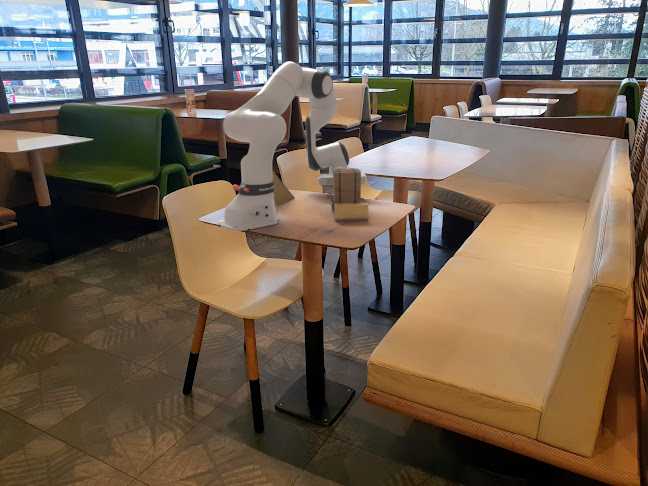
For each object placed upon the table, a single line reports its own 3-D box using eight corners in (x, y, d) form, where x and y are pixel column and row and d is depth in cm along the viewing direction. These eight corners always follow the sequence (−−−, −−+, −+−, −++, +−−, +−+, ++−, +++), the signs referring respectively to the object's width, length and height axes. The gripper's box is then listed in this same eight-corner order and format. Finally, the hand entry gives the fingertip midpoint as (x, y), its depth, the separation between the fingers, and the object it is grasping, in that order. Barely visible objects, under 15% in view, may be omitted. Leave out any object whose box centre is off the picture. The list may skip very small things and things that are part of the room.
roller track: (330, 205, 199) (330, 191, 197) (359, 205, 200) (360, 190, 198) (335, 221, 178) (335, 205, 176) (367, 220, 179) (368, 204, 177)
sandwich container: (296, 198, 213) (295, 163, 208) (273, 206, 201) (272, 169, 196) (280, 195, 217) (279, 161, 212) (257, 203, 205) (255, 167, 200)
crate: (333, 198, 197) (332, 169, 193) (357, 198, 198) (358, 168, 194) (334, 203, 189) (334, 173, 186) (360, 203, 190) (360, 172, 186)
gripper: (316, 169, 213) (318, 176, 200) (363, 168, 214) (368, 175, 201) (317, 184, 215) (318, 191, 202) (363, 183, 216) (368, 190, 203)
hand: (344, 183), depth 201 cm, fingers closed
